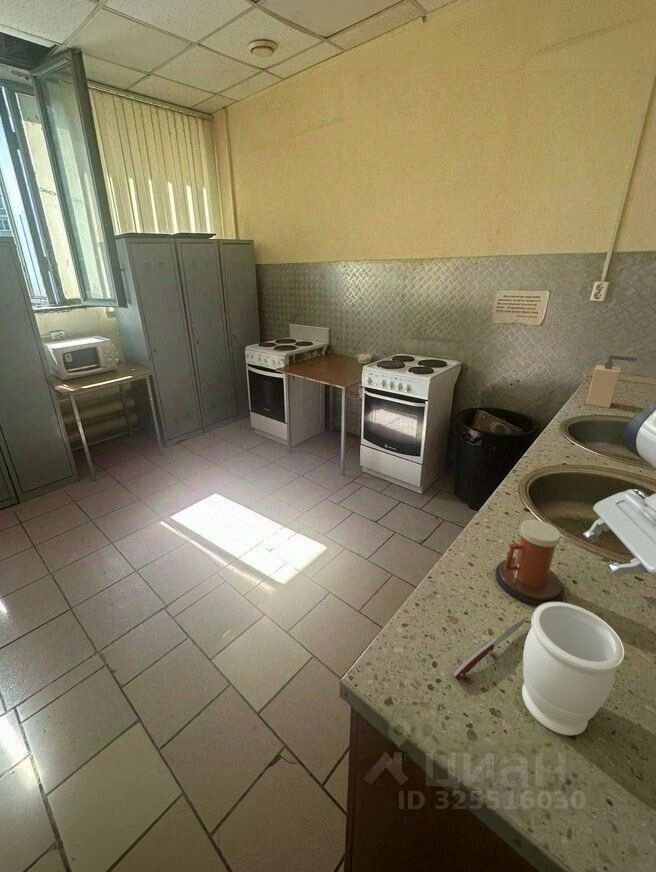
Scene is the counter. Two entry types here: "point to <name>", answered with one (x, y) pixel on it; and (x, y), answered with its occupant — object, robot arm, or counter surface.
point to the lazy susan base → (523, 598)
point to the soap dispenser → (605, 382)
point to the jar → (568, 666)
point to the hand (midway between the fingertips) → (598, 554)
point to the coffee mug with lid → (532, 562)
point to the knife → (484, 652)
